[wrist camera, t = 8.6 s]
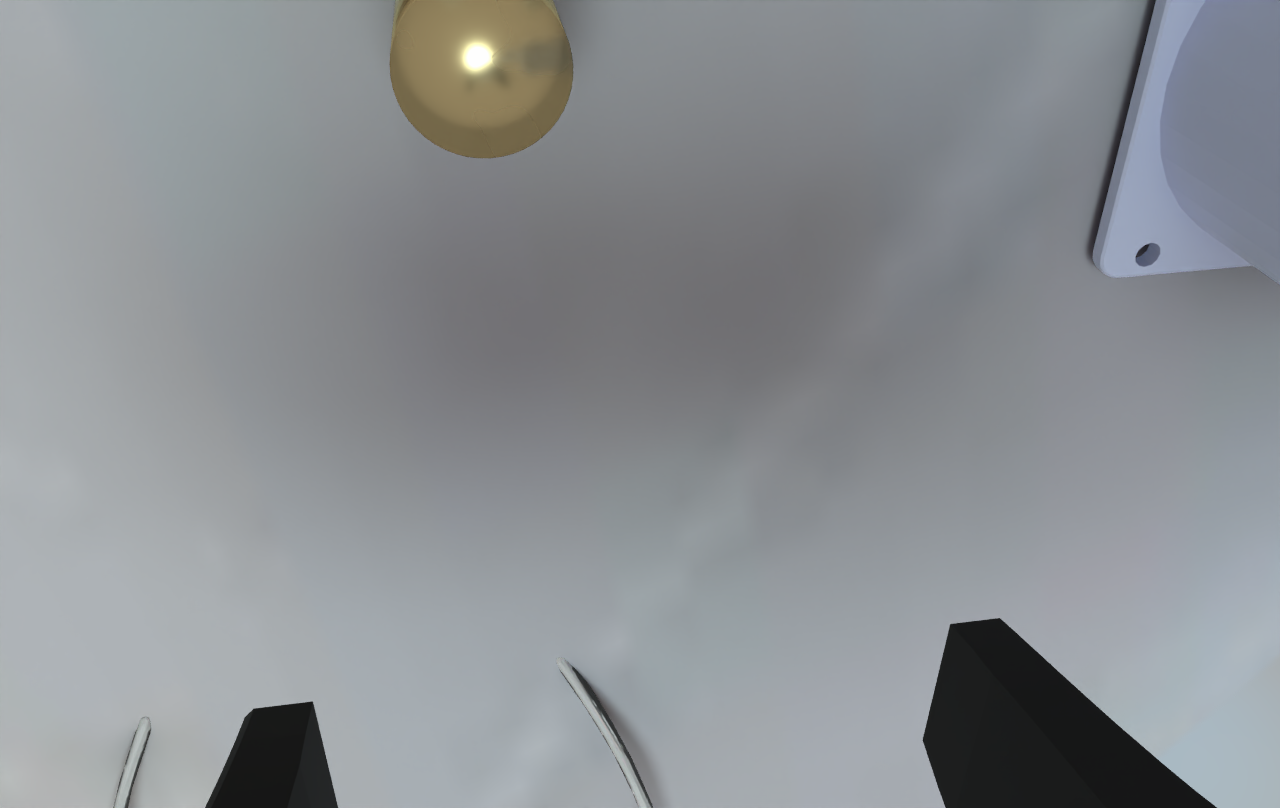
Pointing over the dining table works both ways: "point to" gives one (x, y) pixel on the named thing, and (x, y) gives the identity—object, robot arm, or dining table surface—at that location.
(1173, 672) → the dining table surface
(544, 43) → the short pin
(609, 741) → the sunglasses
